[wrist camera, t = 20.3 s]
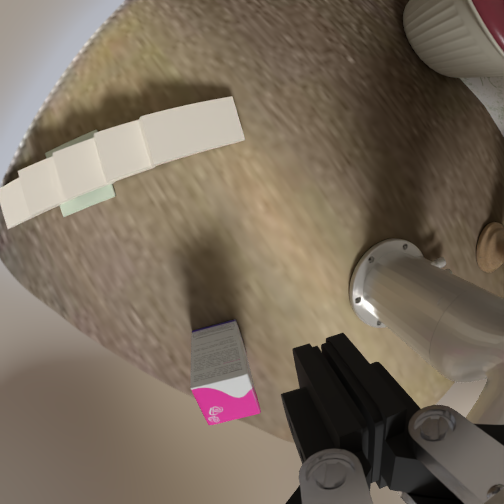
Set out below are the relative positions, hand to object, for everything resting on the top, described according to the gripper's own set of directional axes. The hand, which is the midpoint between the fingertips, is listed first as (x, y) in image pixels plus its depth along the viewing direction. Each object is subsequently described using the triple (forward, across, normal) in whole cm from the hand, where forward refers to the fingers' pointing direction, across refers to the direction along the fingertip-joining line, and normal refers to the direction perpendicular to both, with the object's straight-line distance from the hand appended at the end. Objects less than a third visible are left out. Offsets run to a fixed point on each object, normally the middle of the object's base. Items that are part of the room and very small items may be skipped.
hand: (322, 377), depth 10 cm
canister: (+28, -34, -22) cm, 50 cm away
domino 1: (+26, +12, -11) cm, 31 cm away
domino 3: (+27, +2, -12) cm, 29 cm away
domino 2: (+26, +7, -12) cm, 30 cm away
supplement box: (+28, +6, +13) cm, 31 cm away
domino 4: (+27, -2, -12) cm, 29 cm away
